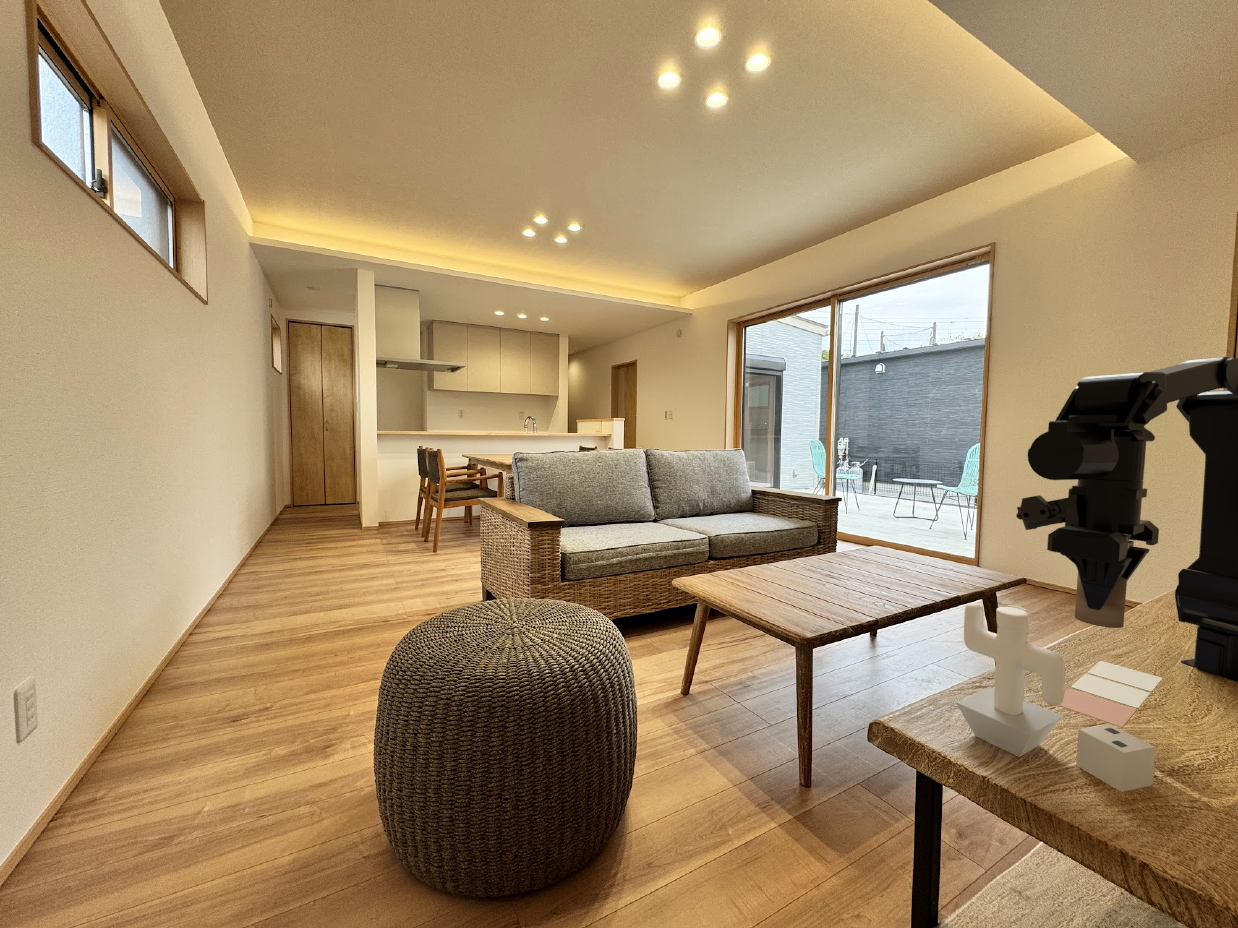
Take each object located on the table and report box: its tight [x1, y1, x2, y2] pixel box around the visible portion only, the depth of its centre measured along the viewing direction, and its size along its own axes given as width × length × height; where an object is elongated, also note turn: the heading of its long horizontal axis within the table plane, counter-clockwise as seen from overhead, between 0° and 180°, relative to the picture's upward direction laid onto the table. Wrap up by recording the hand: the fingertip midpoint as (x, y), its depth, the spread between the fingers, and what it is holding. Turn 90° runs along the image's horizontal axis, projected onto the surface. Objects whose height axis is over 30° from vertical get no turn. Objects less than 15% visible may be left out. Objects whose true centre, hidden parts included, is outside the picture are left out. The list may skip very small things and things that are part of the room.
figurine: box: [955, 602, 1066, 758], centre depth 57 cm, size 7×9×15 cm
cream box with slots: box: [1075, 723, 1156, 792], centre depth 52 cm, size 4×4×4 cm
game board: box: [1058, 660, 1164, 728], centre depth 68 cm, size 22×8×1 cm, turn 125°
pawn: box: [1074, 572, 1128, 629], centre depth 63 cm, size 4×4×8 cm
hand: (1100, 605), depth 63 cm, fingers closed on pawn, 4 cm apart
